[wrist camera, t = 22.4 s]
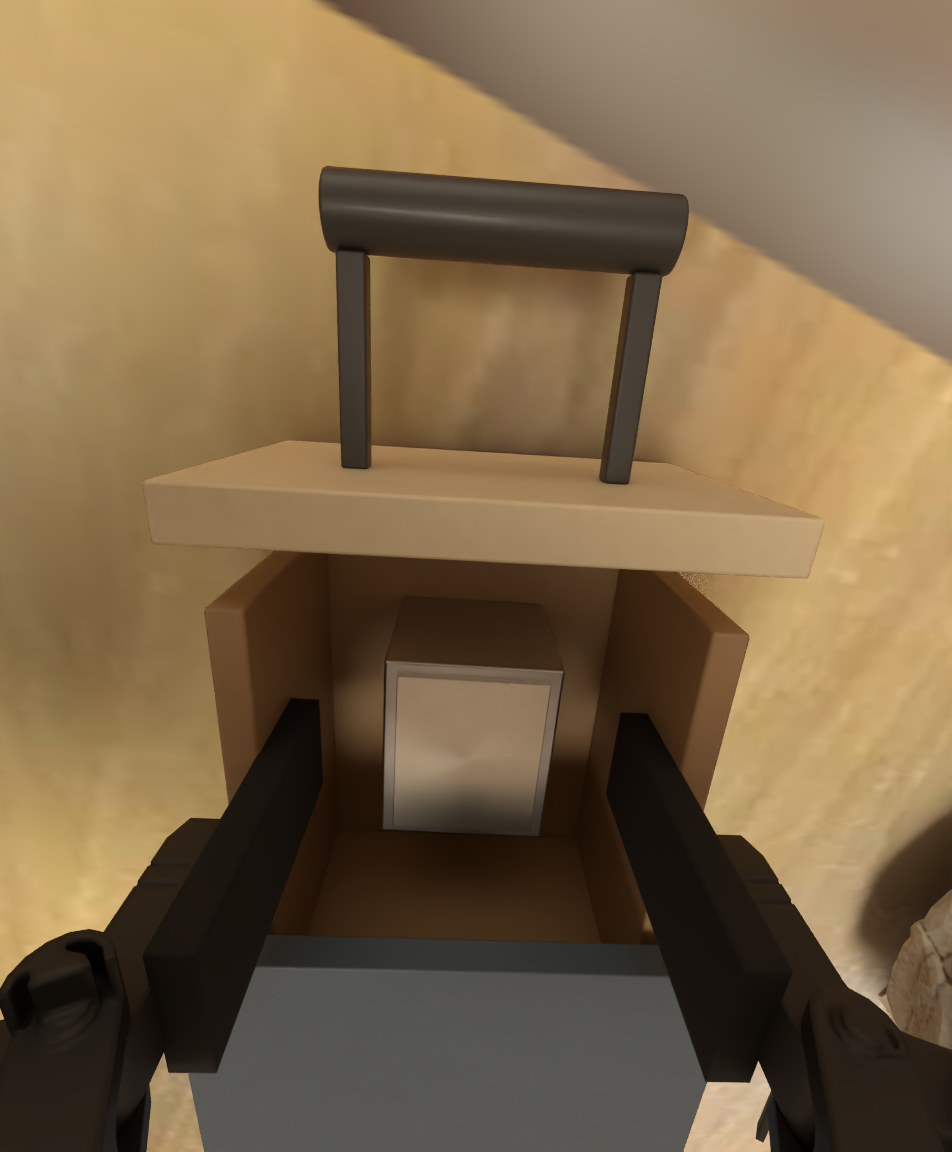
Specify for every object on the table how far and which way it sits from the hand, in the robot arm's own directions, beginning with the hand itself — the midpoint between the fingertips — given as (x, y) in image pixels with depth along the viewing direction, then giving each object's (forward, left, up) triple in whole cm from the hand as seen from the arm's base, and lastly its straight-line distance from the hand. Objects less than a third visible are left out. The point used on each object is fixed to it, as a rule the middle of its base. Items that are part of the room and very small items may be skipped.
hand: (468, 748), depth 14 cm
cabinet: (+12, 0, -6) cm, 14 cm away
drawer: (-2, 0, -5) cm, 6 cm away
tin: (0, 0, -4) cm, 4 cm away
